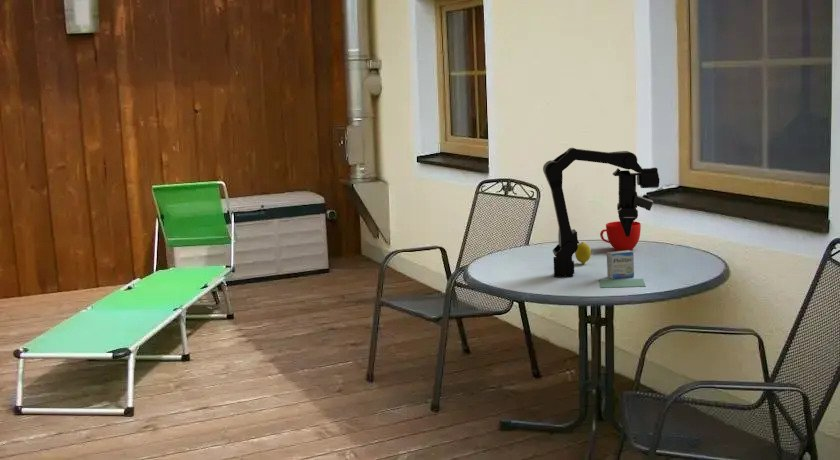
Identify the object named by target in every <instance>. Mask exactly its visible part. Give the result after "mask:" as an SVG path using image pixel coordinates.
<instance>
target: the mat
mask: <svg viewBox="0 0 840 460" xmlns="http://www.w3.org/2000/svg"><path fill="white" fill-rule="evenodd" d="M599 282H600V283H599V284H600V288H601V289H607V288H608V289H609V288H610V289H612V288H638V287H639V288H642V287H643V288H644V287H645V288H646V283H645V281H644V278H621V279H599Z"/></svg>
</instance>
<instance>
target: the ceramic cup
mask: <svg viewBox="0 0 840 460" xmlns="http://www.w3.org/2000/svg"><path fill="white" fill-rule="evenodd" d="M641 226H642V224H641V223H640V222H639V221H636V220H634V221H633V223H632V227H631V232H630V236H629V237H626V235H625V232H624V230H623V227H622V225H621V222H620V220H619V221H618V220H617V221H612V222H611V221H610V222H607V223H606V224H605V229H602V230H601V231H600V234H599V235H600V239H601V240H602V241H603V242H605V243H608V244H609V245H611V246H612V248H613V249H614V250H615V251H625V250H630V251H633V250H634V248H635V247H636V246H637V245H638V243H639V241H640V237H641V230H642V229H641V228H642V227H641ZM604 232H606V237H607V239H606V238H605V237H604Z"/></svg>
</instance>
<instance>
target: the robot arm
mask: <svg viewBox="0 0 840 460" xmlns="http://www.w3.org/2000/svg"><path fill="white" fill-rule="evenodd" d="M574 161H580V162H591V163H599V164H606V165H607V164H609V165H611V166H614V167H618V168H616V170H615V171H613V173H612V176H614V177H618V193H617V194H618V202H617V206H616V207H617V208H616V209H617V215H618V219H619V221H620V222H621V225H622V227H623V230H624V232H625V235H626V237H629V236H630V232H631V227H632V223H633V221H636V219H638V218H639V217H638V216H639V210H638V209H637V208H638V207H639V208H642V209H645V210H646V211H651V210H652V207H653V205H654V201H653V200H652V199H650V196H649V194H643V195H638V192H637V186H639V188H640V189H658V188H659V187H660V175H659V170H658V168H657V167H650V168H649V167H647V168H643V167H642V166H641V165H640V164H639V163H638V157H637V155H636V154H635V153H634V152H631V151H628V150H619V151H617V150H616V151H612V152H611V151H610V152H609V151H597V150H590V149H582V148H575V147H569V148H568V149H567V150H566V151H564V152H563V153H561V154H560V155H559V156H557V157H555V158H554V159H553V160H548V161H546V162H545V163H544V164H543V166H542V171H543V174H544V177H545V178H546V182H547V184H548V186H549V188H550V192H551V196H552V201H553V206H554V211H555V216H556V221H557V225H558V234H557V236H558V237H557V239H558V243H557V245H556V246H555V247H554V248H553V249H552V253H553V255H554V256H553V278H562V277H563V278H564V277H565V278H569V277H574V274H575V261H574V260H573V254H574V253H575V252H576V250H577V249H578V244H580V241H579V240H578V232H577V231H576V229H572V227H571V225H570V218H569V214H568V210H567V209H568V208H567V205H566V200H565V195H564V189H563V171H564V170H565V169H567V168H568V167H569V166H570V165H571V164H572V163H573V162H574ZM620 168H621V169H624V170H621V169H620ZM630 170H632V171H634V172H631V171H630Z"/></svg>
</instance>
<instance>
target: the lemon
mask: <svg viewBox="0 0 840 460" xmlns="http://www.w3.org/2000/svg"><path fill="white" fill-rule="evenodd" d="M577 244H578V243H577ZM591 255H592V250H591V247H590V245H588V244H587V243H585V242H583V241H582V242H581V243H580V242H579V244H578V249H577V250H576V252H575V259H576V260H577V261H578V262H579V263H581V264H582V265H585V264H586V262H588V261H589V260H591Z"/></svg>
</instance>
